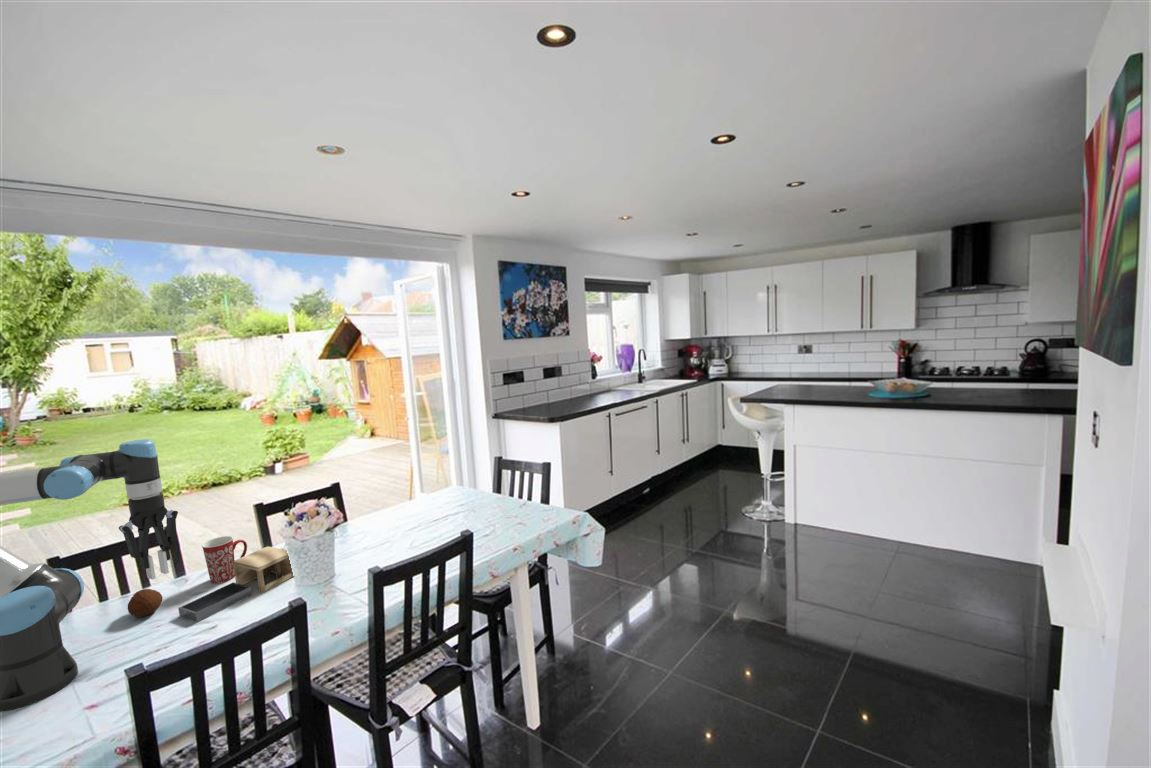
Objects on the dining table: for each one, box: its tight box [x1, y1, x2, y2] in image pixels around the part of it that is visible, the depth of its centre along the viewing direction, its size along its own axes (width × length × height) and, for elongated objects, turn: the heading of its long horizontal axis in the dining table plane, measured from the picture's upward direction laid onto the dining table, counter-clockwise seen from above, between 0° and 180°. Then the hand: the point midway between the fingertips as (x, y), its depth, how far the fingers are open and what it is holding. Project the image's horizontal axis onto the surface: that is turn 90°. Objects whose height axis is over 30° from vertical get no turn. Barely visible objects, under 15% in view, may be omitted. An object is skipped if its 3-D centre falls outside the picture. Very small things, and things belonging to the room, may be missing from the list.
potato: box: [127, 588, 164, 618], centre depth 156 cm, size 8×11×8 cm
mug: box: [201, 535, 248, 584], centre depth 176 cm, size 13×9×14 cm
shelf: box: [233, 545, 294, 594], centre depth 172 cm, size 12×13×9 cm
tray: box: [177, 581, 252, 623], centre depth 158 cm, size 16×9×3 cm, turn 155°
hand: (158, 575), depth 144 cm, fingers open, 3 cm apart
